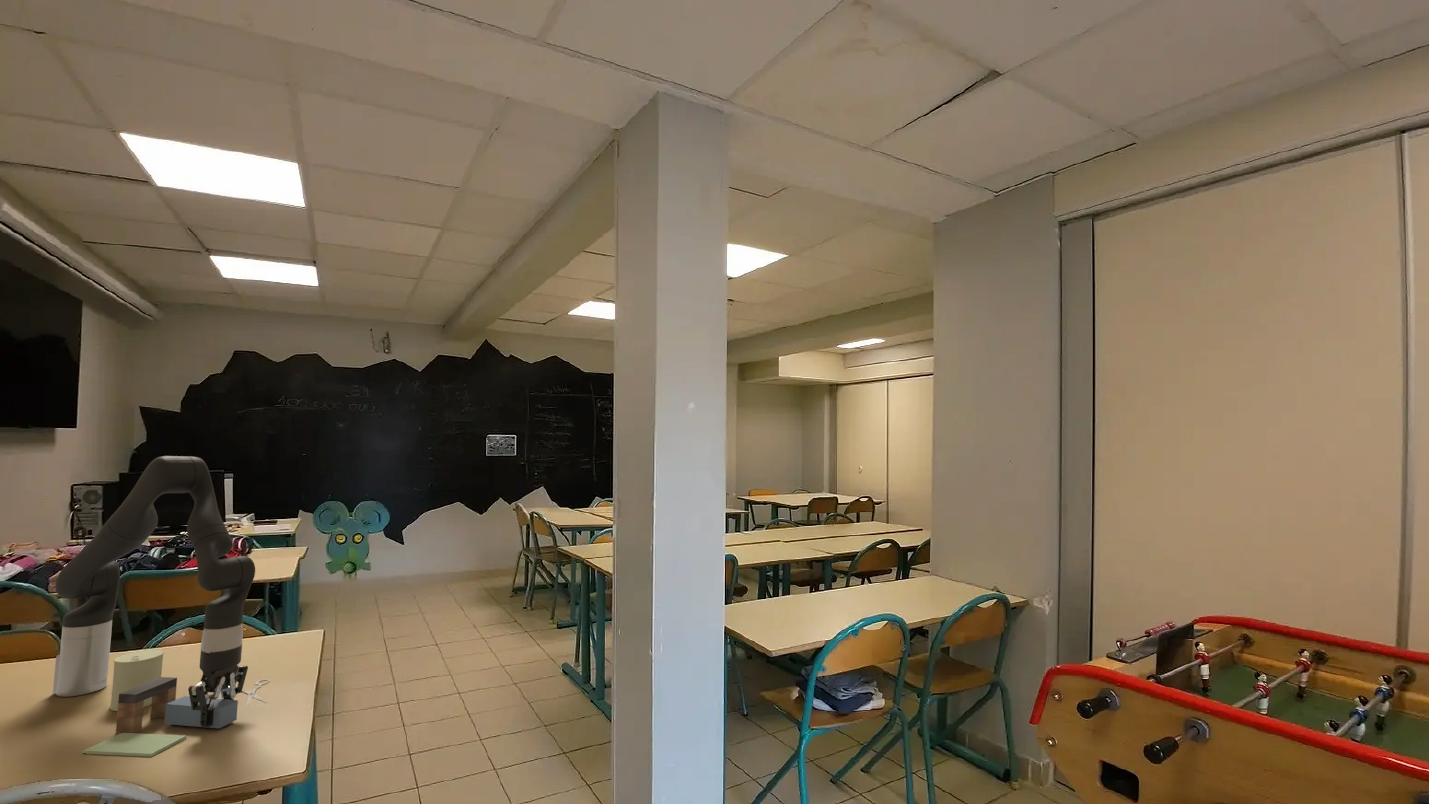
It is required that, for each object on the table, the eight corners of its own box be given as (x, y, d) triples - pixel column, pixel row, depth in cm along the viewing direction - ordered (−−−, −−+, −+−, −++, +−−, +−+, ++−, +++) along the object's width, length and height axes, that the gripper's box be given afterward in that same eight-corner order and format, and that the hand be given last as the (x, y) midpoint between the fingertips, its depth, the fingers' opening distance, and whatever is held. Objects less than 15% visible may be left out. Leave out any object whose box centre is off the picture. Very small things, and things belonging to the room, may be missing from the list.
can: (102, 714, 146) (107, 662, 147) (118, 699, 154) (122, 650, 155) (153, 707, 151) (157, 656, 151) (165, 693, 159) (169, 645, 160)
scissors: (267, 676, 170) (283, 697, 156) (267, 679, 170) (282, 701, 156) (218, 687, 163) (230, 710, 149) (218, 690, 162) (230, 713, 148)
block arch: (115, 733, 137) (118, 693, 138) (158, 713, 147) (161, 677, 148) (132, 733, 137) (135, 694, 137) (174, 714, 147) (177, 677, 147)
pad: (82, 753, 128) (83, 750, 128) (121, 735, 136) (122, 732, 136) (151, 756, 127) (151, 753, 127) (186, 738, 135) (186, 735, 135)
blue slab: (164, 723, 140) (166, 704, 141) (183, 715, 145) (184, 696, 145) (219, 728, 139) (220, 708, 139) (236, 719, 143) (237, 700, 143)
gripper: (232, 635, 150) (227, 707, 148) (178, 655, 135) (171, 735, 134) (261, 636, 149) (256, 708, 148) (210, 656, 135) (204, 736, 134)
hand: (216, 720), depth 141 cm, fingers closed on blue slab, 4 cm apart
